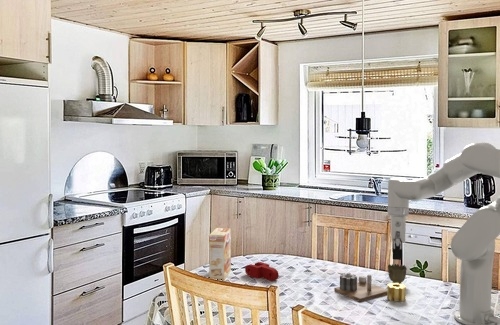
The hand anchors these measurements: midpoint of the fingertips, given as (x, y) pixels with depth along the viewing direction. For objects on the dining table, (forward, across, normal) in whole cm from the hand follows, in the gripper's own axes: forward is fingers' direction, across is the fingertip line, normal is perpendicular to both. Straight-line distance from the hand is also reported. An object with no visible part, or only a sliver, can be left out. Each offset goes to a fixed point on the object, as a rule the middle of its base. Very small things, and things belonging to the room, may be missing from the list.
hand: (396, 255), depth 179 cm
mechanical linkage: (+17, +12, +55) cm, 59 cm away
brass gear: (+16, 0, 0) cm, 16 cm away
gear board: (+16, +3, +13) cm, 21 cm away
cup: (+17, +15, -1) cm, 23 cm away
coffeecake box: (+17, +10, +74) cm, 77 cm away
